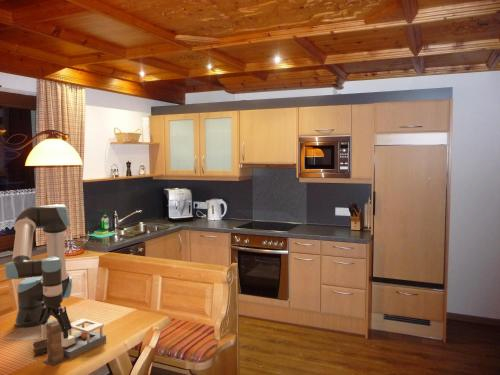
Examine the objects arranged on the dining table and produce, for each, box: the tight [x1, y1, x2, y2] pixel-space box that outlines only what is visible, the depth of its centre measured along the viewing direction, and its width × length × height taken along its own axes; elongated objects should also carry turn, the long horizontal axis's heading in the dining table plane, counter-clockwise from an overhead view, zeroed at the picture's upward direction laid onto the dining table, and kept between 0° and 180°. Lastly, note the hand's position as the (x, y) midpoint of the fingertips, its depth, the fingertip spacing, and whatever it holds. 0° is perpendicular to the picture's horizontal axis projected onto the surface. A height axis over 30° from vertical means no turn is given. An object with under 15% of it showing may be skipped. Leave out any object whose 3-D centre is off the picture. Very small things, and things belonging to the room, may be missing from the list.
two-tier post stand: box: [63, 318, 107, 359], centre depth 194 cm, size 15×20×9 cm
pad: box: [43, 356, 69, 367], centre depth 181 cm, size 7×7×1 cm
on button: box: [63, 334, 75, 348], centre depth 189 cm, size 4×5×3 cm
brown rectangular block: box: [46, 320, 64, 363], centre depth 180 cm, size 4×4×16 cm
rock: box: [32, 338, 47, 356], centre depth 192 cm, size 11×10×4 cm
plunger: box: [80, 331, 90, 341], centre depth 198 cm, size 4×4×4 cm
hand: (54, 341), depth 180 cm, fingers open, 13 cm apart
